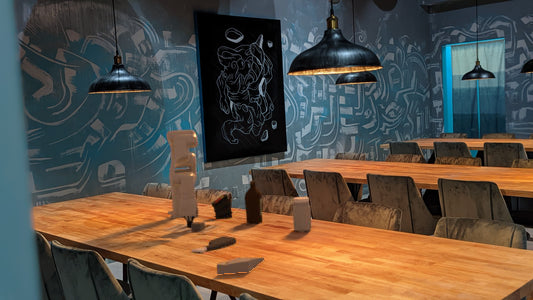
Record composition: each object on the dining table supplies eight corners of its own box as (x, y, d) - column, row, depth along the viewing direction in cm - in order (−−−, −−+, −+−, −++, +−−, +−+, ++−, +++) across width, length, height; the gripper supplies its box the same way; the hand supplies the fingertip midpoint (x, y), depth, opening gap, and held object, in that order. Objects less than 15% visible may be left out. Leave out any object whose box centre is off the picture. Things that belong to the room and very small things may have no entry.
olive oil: (245, 224, 325) (243, 182, 323) (245, 220, 336) (243, 180, 334) (263, 223, 326) (261, 181, 324) (263, 220, 336) (261, 179, 334)
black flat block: (236, 214, 351) (227, 194, 346) (221, 225, 344) (211, 206, 339) (233, 213, 354) (223, 193, 349) (218, 225, 347) (208, 205, 342)
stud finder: (191, 230, 309) (190, 222, 308) (195, 228, 313) (195, 220, 313) (200, 231, 306) (200, 223, 306) (205, 229, 311) (204, 221, 311)
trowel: (250, 258, 250) (249, 247, 250) (277, 263, 240) (276, 251, 240) (205, 274, 229) (204, 261, 229) (232, 280, 219) (231, 267, 218)
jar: (310, 232, 297) (309, 199, 296) (292, 232, 299) (291, 199, 298) (312, 228, 306) (311, 196, 305) (295, 228, 308) (293, 196, 307)
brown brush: (238, 243, 280) (205, 255, 261) (222, 241, 287) (189, 253, 267) (238, 237, 280) (205, 249, 260) (221, 235, 287) (188, 247, 267)
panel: (161, 233, 312) (161, 231, 312) (178, 225, 330) (178, 223, 330) (205, 234, 302) (205, 232, 302) (220, 227, 321) (220, 225, 321)
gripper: (173, 196, 310) (175, 228, 311) (197, 196, 304) (198, 229, 306) (180, 194, 317) (181, 225, 318) (203, 194, 311) (204, 226, 313)
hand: (190, 227), depth 312 cm, fingers closed
